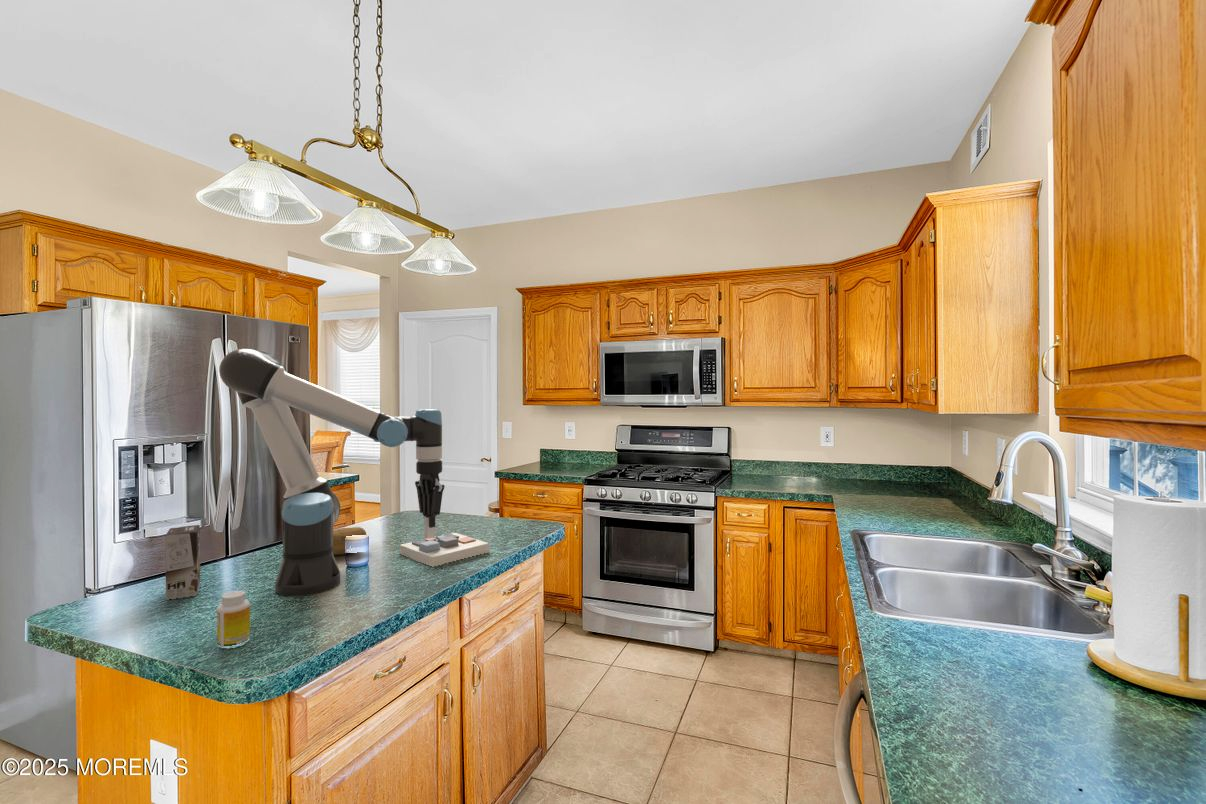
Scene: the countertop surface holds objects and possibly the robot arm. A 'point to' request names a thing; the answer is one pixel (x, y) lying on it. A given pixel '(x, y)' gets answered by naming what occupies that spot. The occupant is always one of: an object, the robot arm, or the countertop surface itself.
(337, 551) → the potato
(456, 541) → the key charcoal
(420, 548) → the key slate
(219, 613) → the supplement bottle
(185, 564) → the coffee box
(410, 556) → the keypad
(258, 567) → the countertop surface
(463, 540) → the key terracotta
